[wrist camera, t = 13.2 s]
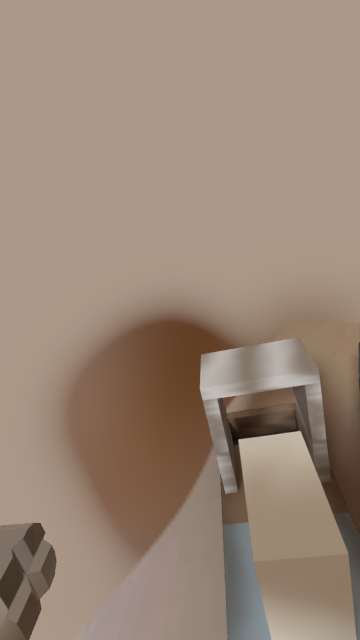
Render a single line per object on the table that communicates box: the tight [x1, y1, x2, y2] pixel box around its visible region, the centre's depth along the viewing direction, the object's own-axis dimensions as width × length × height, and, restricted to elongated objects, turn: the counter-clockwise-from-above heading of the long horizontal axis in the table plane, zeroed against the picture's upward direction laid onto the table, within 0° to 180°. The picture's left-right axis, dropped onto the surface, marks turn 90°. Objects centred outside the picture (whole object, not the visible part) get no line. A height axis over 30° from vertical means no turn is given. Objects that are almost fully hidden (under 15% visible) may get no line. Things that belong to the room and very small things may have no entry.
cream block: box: [238, 431, 357, 640], centre depth 30 cm, size 6×12×10 cm, turn 177°
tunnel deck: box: [200, 338, 360, 640], centre depth 37 cm, size 13×32×18 cm, turn 177°
